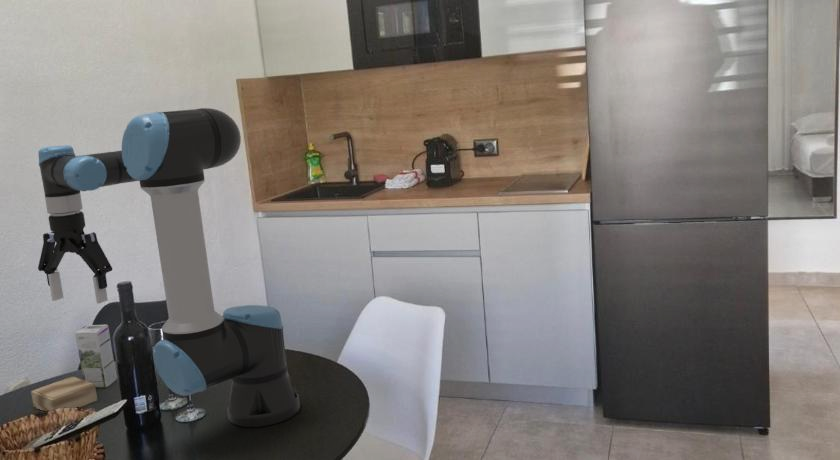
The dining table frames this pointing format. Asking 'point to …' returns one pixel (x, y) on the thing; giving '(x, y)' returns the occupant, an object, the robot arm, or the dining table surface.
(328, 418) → the dining table surface
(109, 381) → the syrup box
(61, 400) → the oak riser block
